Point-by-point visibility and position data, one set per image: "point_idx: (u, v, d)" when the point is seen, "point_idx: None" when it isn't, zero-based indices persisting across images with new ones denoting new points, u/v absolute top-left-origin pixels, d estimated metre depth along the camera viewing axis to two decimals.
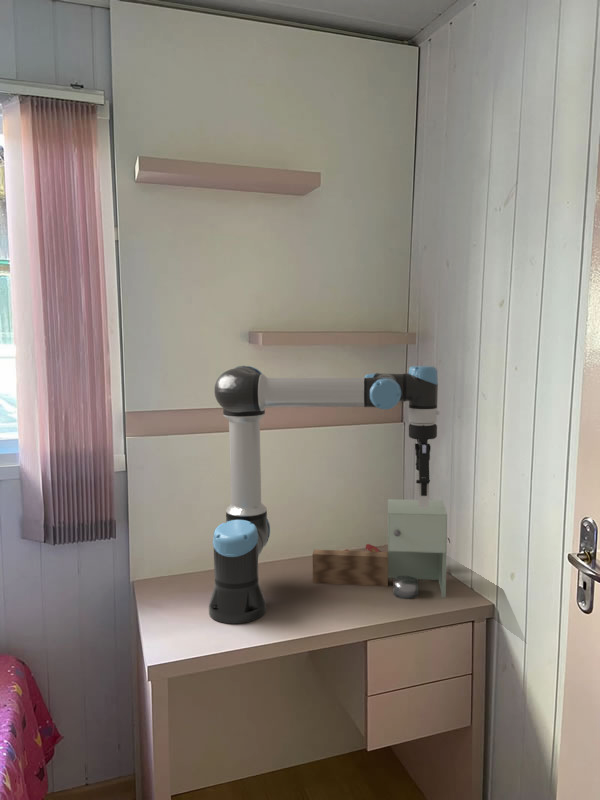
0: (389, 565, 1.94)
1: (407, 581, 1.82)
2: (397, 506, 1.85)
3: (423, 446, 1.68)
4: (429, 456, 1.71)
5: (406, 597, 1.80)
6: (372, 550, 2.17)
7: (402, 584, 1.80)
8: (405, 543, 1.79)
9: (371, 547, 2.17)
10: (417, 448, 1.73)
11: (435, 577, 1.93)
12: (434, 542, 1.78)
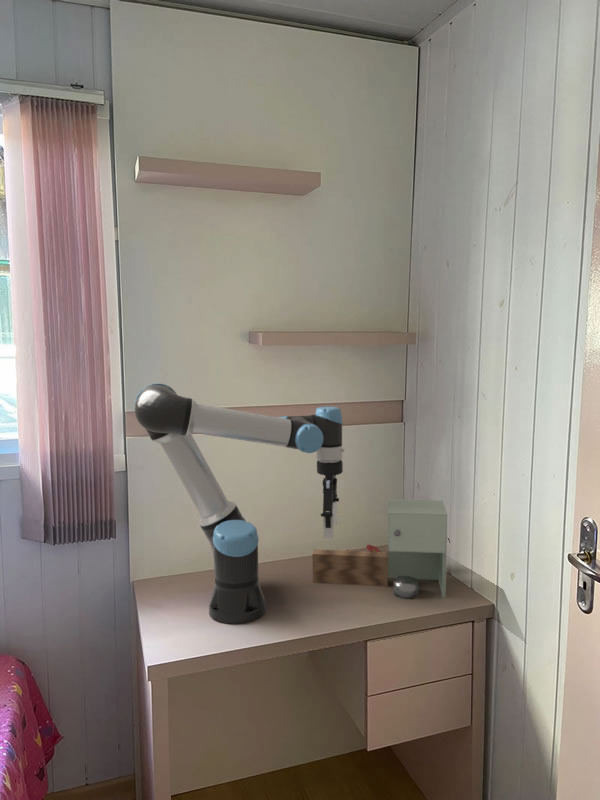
0: (389, 565, 1.94)
1: (408, 581, 1.82)
2: (397, 506, 1.85)
3: (327, 482, 1.83)
4: (334, 491, 1.86)
5: (406, 597, 1.80)
6: (373, 550, 2.16)
7: (402, 584, 1.80)
8: (405, 543, 1.79)
9: (372, 547, 2.17)
10: None
11: (435, 577, 1.93)
12: (434, 542, 1.78)
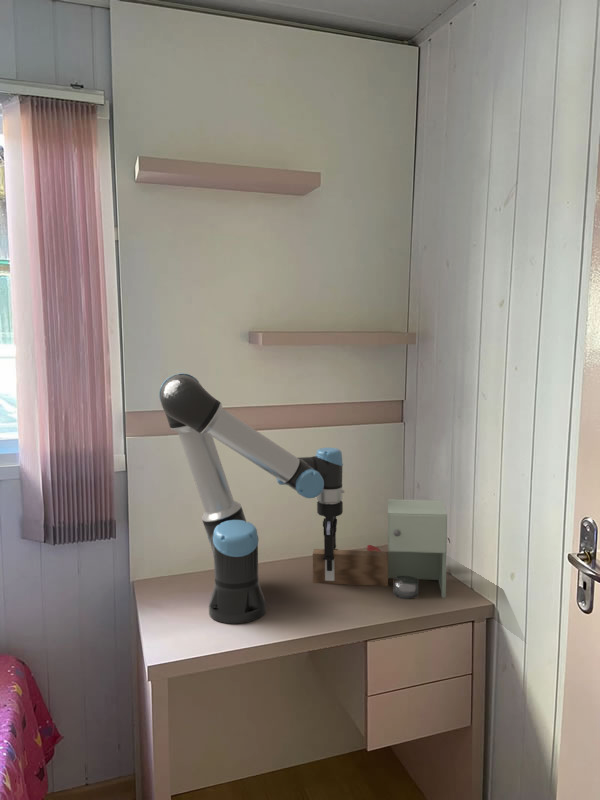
0: (389, 565, 1.94)
1: (408, 581, 1.82)
2: (397, 506, 1.85)
3: (327, 530, 1.84)
4: (334, 534, 1.89)
5: (406, 597, 1.80)
6: None
7: (402, 584, 1.80)
8: (405, 543, 1.79)
9: (373, 548, 2.16)
10: (324, 525, 1.89)
11: (435, 577, 1.93)
12: (434, 542, 1.78)
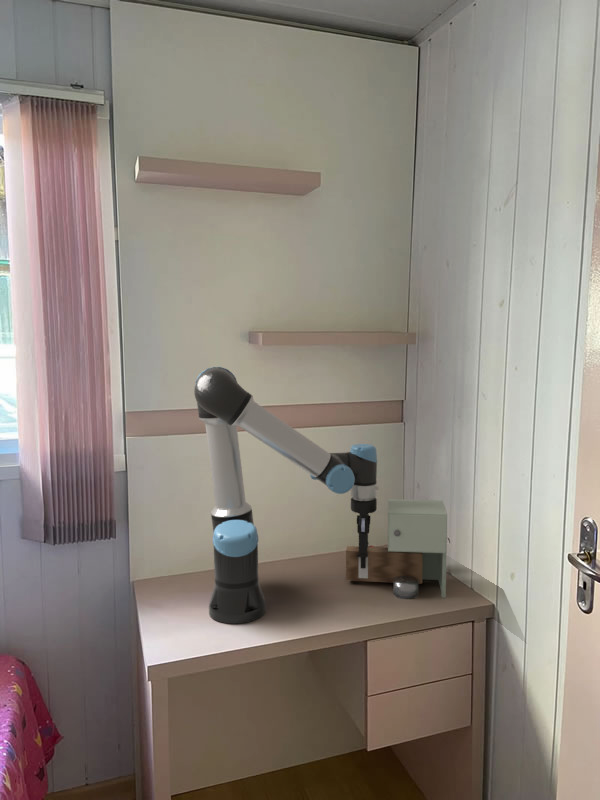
0: None
1: (408, 581, 1.82)
2: (397, 506, 1.85)
3: (362, 527, 1.83)
4: (368, 531, 1.87)
5: (408, 597, 1.80)
6: None
7: (403, 584, 1.80)
8: (405, 543, 1.79)
9: None
10: (358, 522, 1.87)
11: (435, 577, 1.93)
12: (434, 542, 1.78)
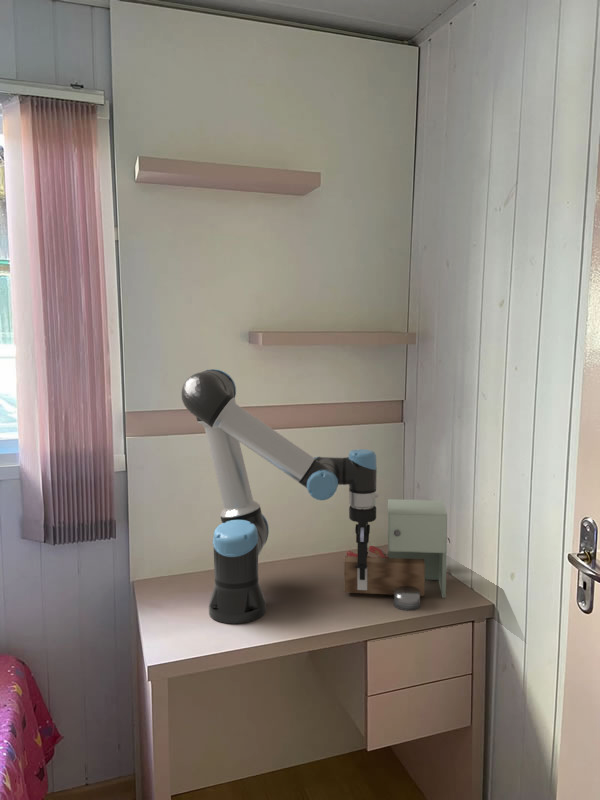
0: None
1: (409, 592, 1.75)
2: (397, 506, 1.85)
3: (361, 537, 1.74)
4: (368, 540, 1.78)
5: (409, 609, 1.72)
6: (375, 552, 2.15)
7: (404, 595, 1.73)
8: (405, 543, 1.79)
9: (374, 549, 2.15)
10: (357, 531, 1.79)
11: (435, 577, 1.93)
12: (434, 542, 1.78)
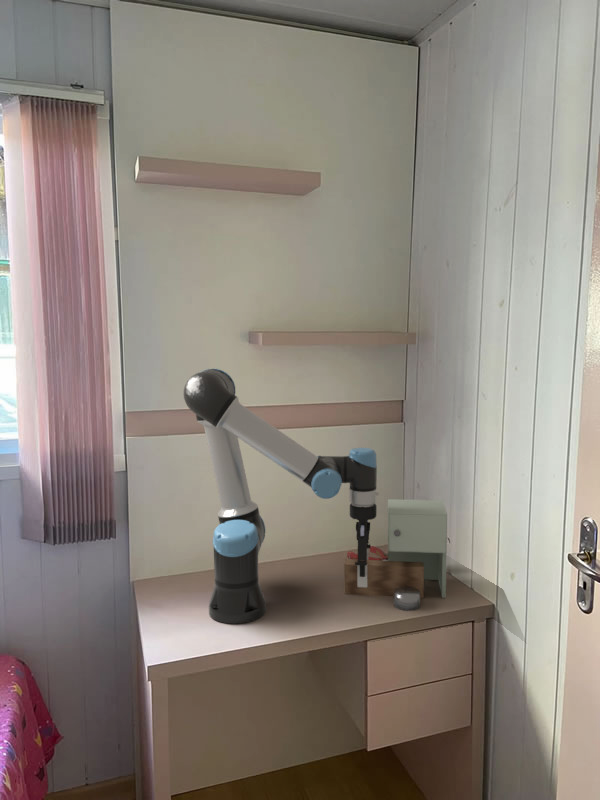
0: None
1: (409, 592, 1.75)
2: (397, 506, 1.85)
3: (361, 530, 1.76)
4: (368, 537, 1.79)
5: (409, 609, 1.72)
6: (376, 552, 2.15)
7: (404, 595, 1.73)
8: (405, 543, 1.79)
9: (375, 549, 2.15)
10: (357, 528, 1.81)
11: (435, 577, 1.93)
12: (434, 542, 1.78)
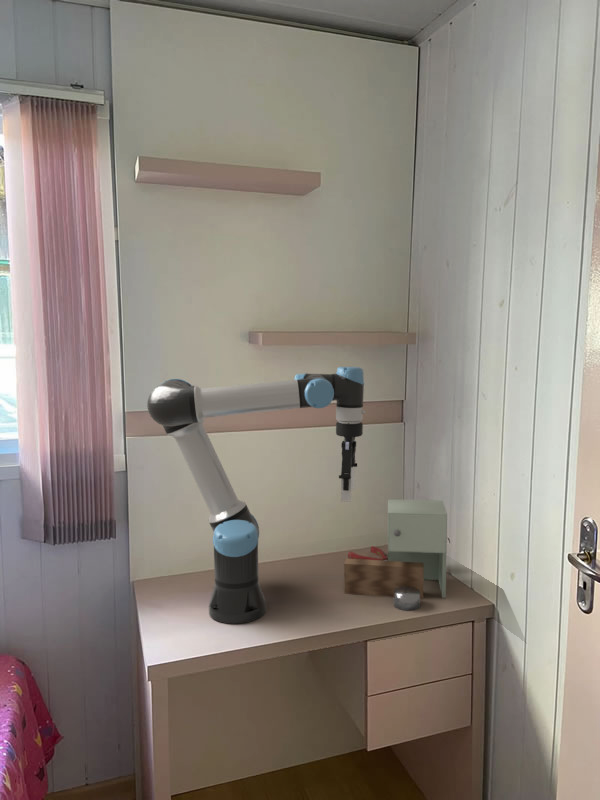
0: None
1: (409, 592, 1.75)
2: (397, 506, 1.85)
3: (346, 443, 1.77)
4: (353, 453, 1.80)
5: (409, 609, 1.72)
6: (377, 552, 2.14)
7: (405, 595, 1.73)
8: (405, 543, 1.79)
9: (376, 549, 2.15)
10: (343, 445, 1.81)
11: (435, 577, 1.93)
12: (434, 542, 1.78)
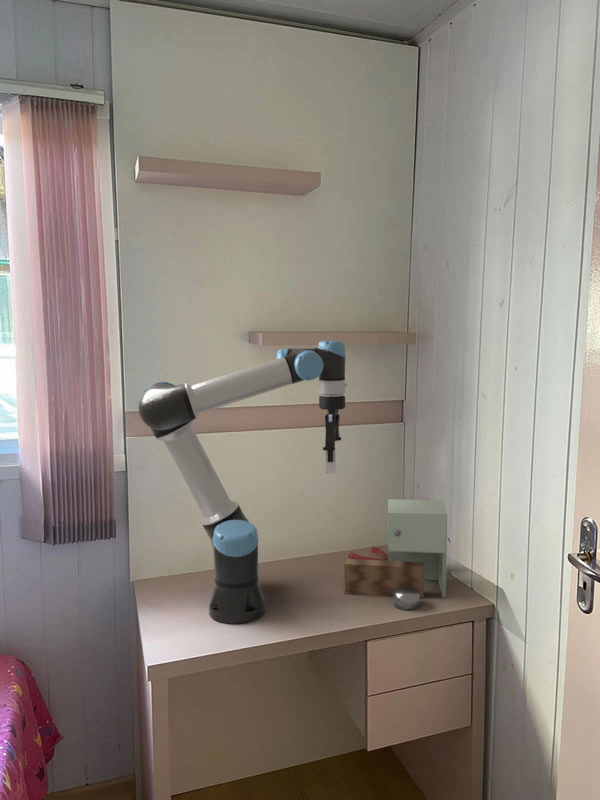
0: None
1: (409, 592, 1.75)
2: (397, 506, 1.85)
3: (329, 415, 1.79)
4: (336, 425, 1.82)
5: (409, 609, 1.72)
6: (377, 553, 2.14)
7: (405, 595, 1.73)
8: (405, 543, 1.79)
9: (376, 550, 2.14)
10: None
11: (435, 577, 1.93)
12: (434, 542, 1.78)
